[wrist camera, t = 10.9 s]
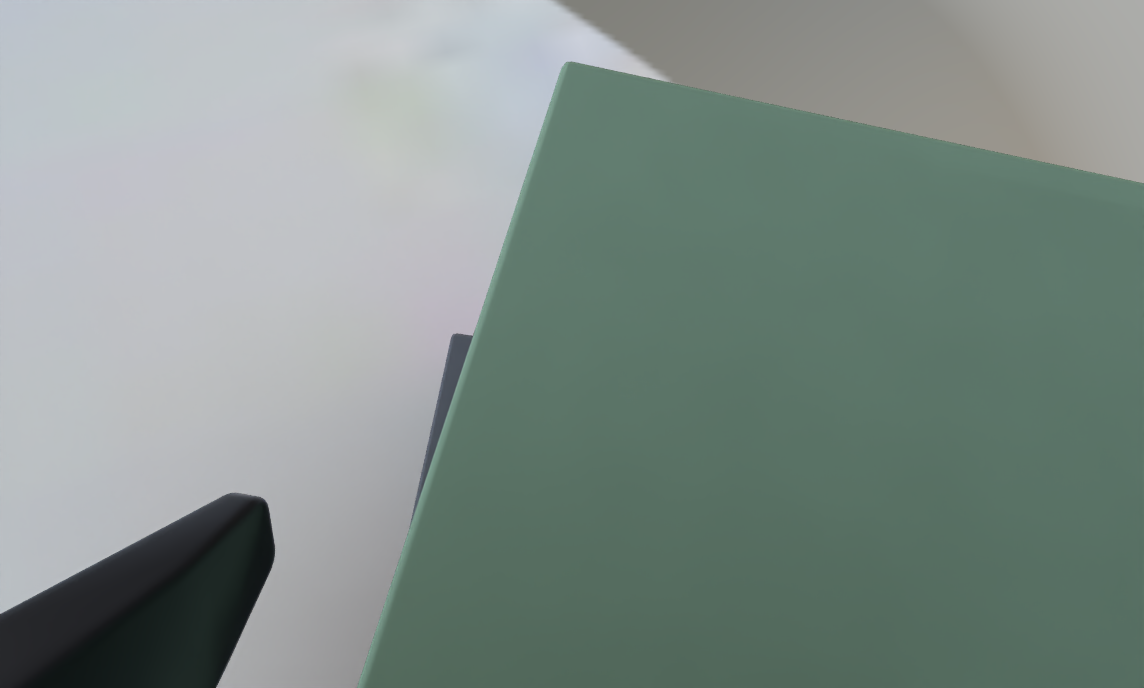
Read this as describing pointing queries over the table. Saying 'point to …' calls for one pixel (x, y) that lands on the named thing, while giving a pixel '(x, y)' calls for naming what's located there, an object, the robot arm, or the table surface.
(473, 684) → the green box
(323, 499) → the table surface
